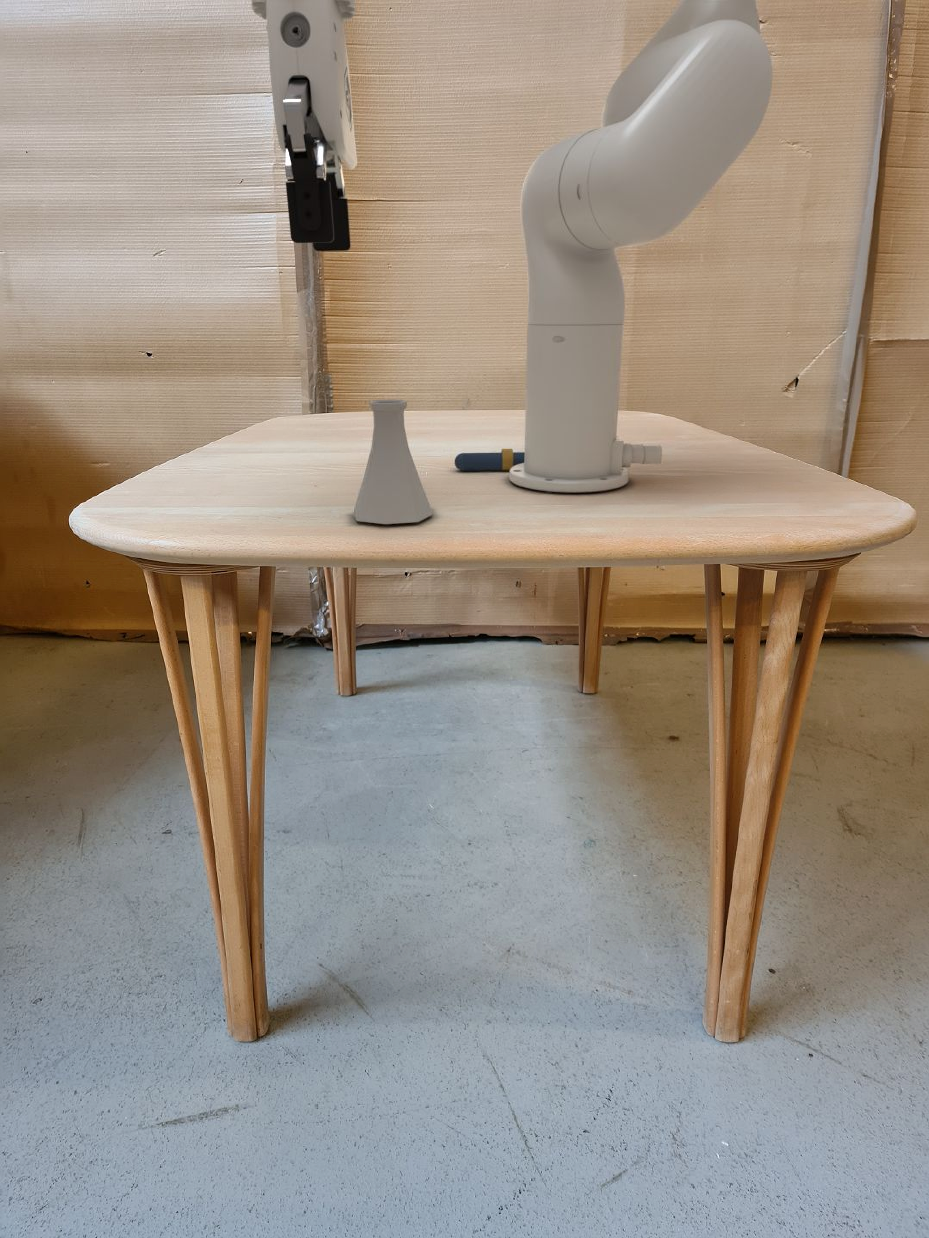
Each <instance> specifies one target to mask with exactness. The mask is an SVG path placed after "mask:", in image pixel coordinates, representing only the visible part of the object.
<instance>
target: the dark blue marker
mask: <svg viewBox="0 0 929 1238" xmlns="http://www.w3.org/2000/svg"><path fill="white" fill-rule="evenodd" d="M524 455H525V451H514V449H513V448H502V449H501V451H500V452H461V453H459V454H457V455H456V456H455V458H454V466H455V467H456V469H457V470H458V471H461V472H484V471H486V472H487V471H488V472H489V471H493V472H494V471H510V469H511V468H512V467H513V466H515V465H518V464H521V463H524Z"/></svg>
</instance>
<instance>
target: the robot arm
mask: <svg viewBox="0 0 929 1238" xmlns="http://www.w3.org/2000/svg"><path fill="white" fill-rule="evenodd" d="M250 1H251V9H252V11H253V13H254V14H255V15H256V16H257V17H260V18H262V19H264V20H265V21H266V27H265V30H266V32H267V45H268V46H267V47H268V60H269V73H270V84H271V95H272V105H273V115H274V122H275V130H276V136H277V141H278V145H279V147H280V151H282V153H283V154H284V155H285V162H284V170H285V177H286V182H285V191H286V201H287V212H288V222H289V232H290V239H291V241H292V242H293V243H295V244H312V248H313V249H314V251H316V252H348V251H349V250H350V249H351V247H352V246H351V229H350V217H349V216H350V215H349V203H348V201H349V200H348V198H347V197H346V196H347V195H346V193H347V192H346V185H345V179H344V172H343V171H344V170H343V165H342V163H343V164H344V166H345V167H346V168H347V169H348V170H351V171H352V170H354V169H355V168H356V167H357V165H358V156H357V155H358V154H357V147H356V146H357V145H356V136H355V123H354V112H353V101H352V88H351V75H350V66H349V58H348V48H347V41H346V40H347V39H346V33H345V27H344V23H346V22H348V21H349V20H352V18H354V16H355V15H356V0H250ZM756 1H757V0H680V3H679V4H678V5H677V7H676V8H675V9H674V11H673V12H672V13H671V15H670V16H669V17H668V18H667V20H666V22H665V23H664V24H663V25H662V26H661V28H659V30H657V32H656V33H655V34H654V36H652V38H651V39H650V40H649V41H648V42H647V43H646V45H644V47H643V48H642V49H641V50H640V52H639V53H637V55H636V56H635V57H634V58H633V59H632V61H631V62H629V64H628V65H627V66H626V67H625V68H624V70H622V71H621V73H620V74H619V75H618V77H617V79H616V80H615V81H614V83H613V84H612V86H611V88H610V89H609V91H608V93H607V96H606V99H605V101H604V104H603V107H602V111H601V118H600V119H601V120H600V128H596V129H592V130H588V131H585V132H582V133H578V134H576V135H575V134H574V135H572V136H570V137H566V138H564V139H562V140H560V141H557V142H556V143H553V144H551V145H550V146H549V147H548V148H546V149H545V150H544V151H542V152H541V153H540V154H539V155H538V156H537V157H536V159H535V160H534V161H533V162H532V164H531V165H530V167H529V169H528V170H527V172H526V175H525V177H524V180H523V183H522V187H521V192H520V197H519V198H520V200H519V213H520V214H519V215H520V225H521V231H522V238H523V246H524V251H525V260H526V273H527V276H526V277H527V321H526V323H527V326H526V327H527V329H526V363H525V365H526V367H525V368H526V371H525V372H526V373H525V408H524V409H525V413H524V415H525V416H524V452H525V455H524V463H521V464H518V465H515V466H513V467H512V468H511V469H510V470H508V472H509V477H508V479H509V481H510V482H511V483H512V484H514V485H515V486H518V487H521V488H525V489H530V490H536V491H541V492H542V491H543V492H550V493H551V492H552V493H553V492H554V493H594V492H596V493H597V492H603V491H610V490H615V489H618V488H621V487H624V486H625V485H627V484H628V482H629V480H630V479H629V476H630V475H629V473H630V472H629V470H628V469H627V468H630V467H631V465H632V464H641V465H660V464H661V462H662V458H663V449H662V446H661V445H660V444H658V445H657V444H655V445H653V444H652V445H651V444H650V445H643V444H641V443H639V444H637V443H636V444H632V443H630V442H625V440H623V439H622V438H621V437H619V436H618V435H617V432H618V420H619V419H618V417H619V405H620V404H619V402H620V388H621V387H620V386H621V373H622V358H623V342H624V329H625V317H626V291H625V283H624V277H623V275H622V274H623V273H622V270H621V267H620V264H619V260H618V256H617V253H616V249H619V248H620V249H621V248H630V247H637V246H642V245H648V244H651V243H654V242H656V241H659V240H661V239H664V238H665V237H666V236H668V235H669V234H670V233H672V232H673V231H674V230H676V229H677V228H678V227H679V226H680V225H681V224H682V223H683V222H684V221H686V219H687V218H688V217H689V216H690V215H691V213H692V212H693V211H694V210H695V209H696V208H697V206H699V204H700V203H701V202H702V201H703V199H705V197H706V196H707V195H708V194H709V192H710V191H712V189H713V188H714V187H715V185H716V184H717V183H718V182H719V180H720V179H721V178H722V177H723V176H724V174H725V173H726V172H727V171H728V170H729V168H730V167H731V166H732V165H733V164H734V162H735V161H736V160H737V159H738V158H739V157H740V156H741V154H742V153H743V151H745V150H746V148H747V147H748V146H749V144H750V143H751V141H752V140H753V139H754V137H755V135H756V134H757V132H758V130H759V128H760V126H761V124H762V122H763V120H764V118H765V115H766V112H767V109H768V107H769V102H770V98H771V95H772V88H773V87H772V86H773V63H772V58H771V55H770V51H769V47H768V46H767V43H766V42H765V39H764V38H763V37H762V35H761V24H760V23H761V22H760V17H759V12H758V9H757V2H756Z"/></svg>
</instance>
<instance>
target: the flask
mask: <svg viewBox="0 0 929 1238" xmlns="http://www.w3.org/2000/svg"><path fill="white" fill-rule="evenodd" d="M368 402H369V409H371V410H372V414H373V415H372V416H373V430H372V440H371V447H370V451H369V455H368V458H367V463H366V467H365V471H364V475H363V478H362V482H361V485H360V488H359V491H358V495H357V499H356V501H355V505H354V509H353V511H352V512H353V515H354V519H355V521H356V522H361V523H362V522H363V523H372V524H381V525H392V524H408V523H409V524H410V523H419V522H421V521H423V520H425V519H427V518H428V517H430V516H433V515H434V512H433V510H432V508H431V504H430V502H429V500H428V499H429V498H428V497H427V494H426V492H425V488H424V486H423V484H422V481H421V479H420V476H419V474H418V470H417V467H416V464H415V461H414V458H413V456H412V454H411V450H410V448H409V442H408V437H407V433H406V428H405V427H406V426H405V410H406V409H407V405H408V402H407V400H405V399H389V398H388V399H375V400H370V401H368Z"/></svg>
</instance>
